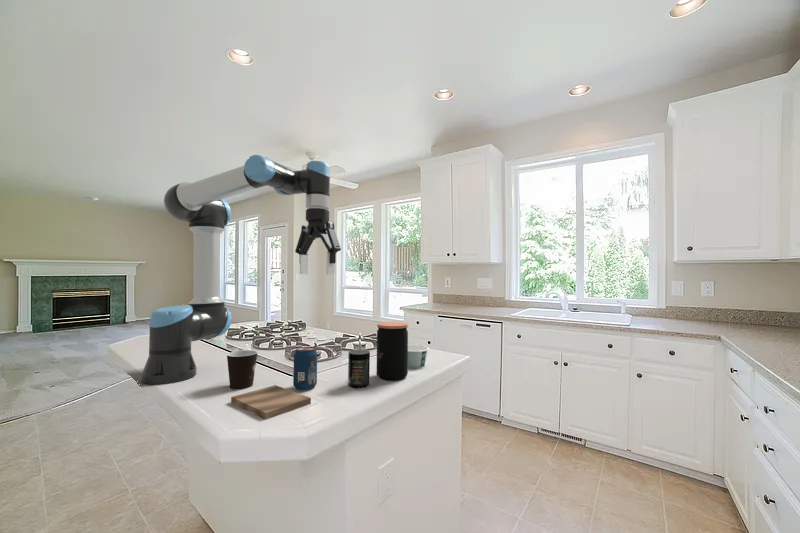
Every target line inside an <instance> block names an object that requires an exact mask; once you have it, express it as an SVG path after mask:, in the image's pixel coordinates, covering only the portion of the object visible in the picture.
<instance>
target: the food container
mask: <svg viewBox="0 0 800 533" xmlns="http://www.w3.org/2000/svg"><path fill="white" fill-rule="evenodd" d="M429 350H430V347H428V346H426V345H422V344H421V345H420V344H408V368H411V369H414V368H415V369H417V368H422V367H423V368H424V367H426V366H425V365H426V361H427V356H428V351H429Z"/></svg>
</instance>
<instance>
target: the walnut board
mask: <svg viewBox="0 0 800 533" xmlns="http://www.w3.org/2000/svg"><path fill="white" fill-rule="evenodd" d="M311 400H312V398H311V397H309V396H306V395H304V394H302V393H299V392H296V391H293V390H290V389H287V388H284V387H281V386H280V385H276V384H275V385H271V386H266V387H263V388H259V389H256V390H252V391H248V392H244V393H241V394H237V395H233V396H230V403H231V404H233V405H235V406H237V407H239V408H241V409H244V410H245V411H247V410H248V411H247V412H249V411H250V412H249V413H251V412H252V414H253V413H254V415H255V416H258V417H260V418H262V419H264V420H268V419H271V418H273V417H277V416H279V415H283V414H285V413H288V412H291V411H294V410H297V409H299V408H303V407H304V406H305V407H306V406H308V405H311V404H312V401H311Z"/></svg>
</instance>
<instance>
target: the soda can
mask: <svg viewBox="0 0 800 533" xmlns="http://www.w3.org/2000/svg"><path fill="white" fill-rule="evenodd" d="M292 372H293V375H292V377H293V378H292V379H293V380H292V381H293V382H292V384H293V387H294V389H295V390H296V391H299V392H306V391H311V390H313V389H315V387H316V386H317V384H318V352H317V350H316V347H315V346H309V345H308V346H307V345H306V346H299V347H297V348H295V351H294V353H293V371H292Z"/></svg>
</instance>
